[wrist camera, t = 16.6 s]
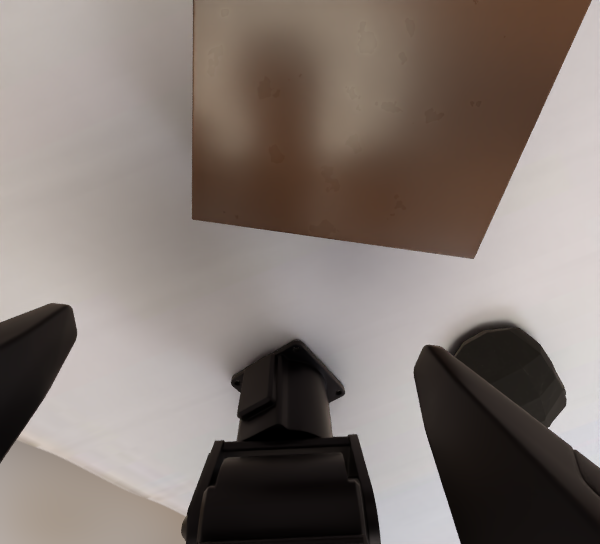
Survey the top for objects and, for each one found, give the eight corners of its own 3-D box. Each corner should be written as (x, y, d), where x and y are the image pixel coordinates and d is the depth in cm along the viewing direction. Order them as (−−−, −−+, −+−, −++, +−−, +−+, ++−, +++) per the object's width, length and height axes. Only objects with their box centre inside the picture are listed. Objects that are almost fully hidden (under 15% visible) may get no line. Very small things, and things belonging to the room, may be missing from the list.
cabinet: (236, -186, 12) (194, -394, 7) (539, -108, 13) (700, -234, 8) (219, 182, 19) (191, 219, 13) (425, 213, 20) (474, 259, 14)
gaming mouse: (511, 444, 31) (539, 490, 27) (430, 351, 25) (452, 395, 21) (580, 413, 29) (621, 458, 25) (510, 305, 23) (549, 344, 20)
